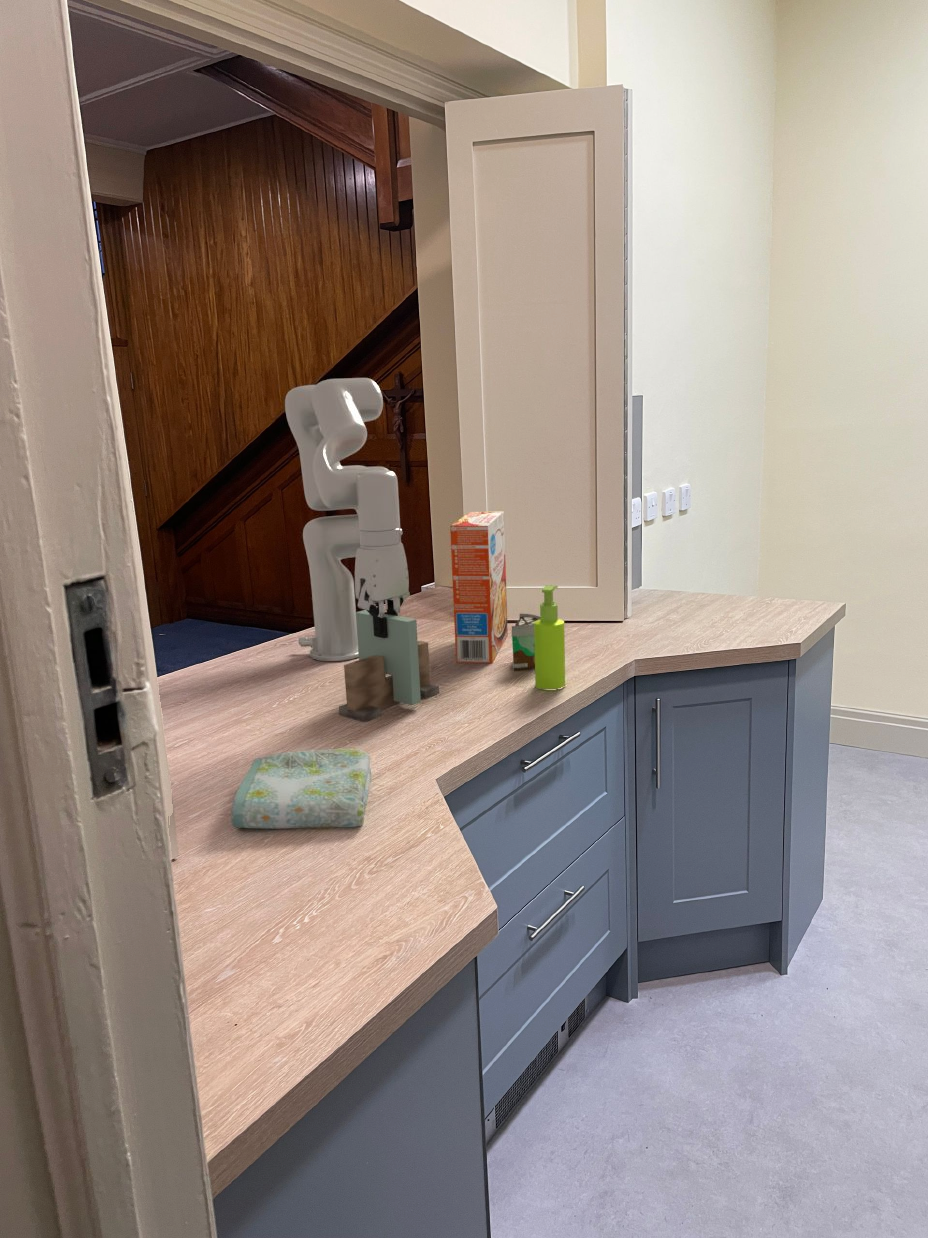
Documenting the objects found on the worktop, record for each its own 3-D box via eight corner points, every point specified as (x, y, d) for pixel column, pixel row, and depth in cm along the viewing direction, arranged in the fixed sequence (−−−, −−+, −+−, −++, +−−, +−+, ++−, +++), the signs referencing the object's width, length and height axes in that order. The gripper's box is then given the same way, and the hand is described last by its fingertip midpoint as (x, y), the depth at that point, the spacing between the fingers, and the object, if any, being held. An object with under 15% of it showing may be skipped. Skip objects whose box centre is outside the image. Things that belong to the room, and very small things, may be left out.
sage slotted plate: (412, 705, 175) (407, 621, 171) (361, 692, 184) (355, 612, 180) (420, 702, 176) (416, 619, 173) (369, 689, 185) (364, 610, 182)
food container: (542, 673, 195) (541, 627, 193) (512, 673, 196) (511, 626, 194) (548, 657, 207) (547, 613, 205) (521, 656, 208) (519, 612, 206)
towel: (373, 772, 149) (371, 741, 148) (364, 833, 129) (361, 798, 127) (258, 777, 149) (255, 747, 148) (230, 840, 128) (226, 805, 127)
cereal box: (492, 663, 204) (487, 525, 197) (456, 662, 206) (450, 526, 199) (507, 636, 226) (503, 511, 219) (474, 635, 228) (469, 511, 221)
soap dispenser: (569, 680, 190) (567, 583, 185) (561, 691, 183) (559, 591, 179) (541, 679, 192) (538, 582, 187) (532, 689, 185) (529, 590, 181)
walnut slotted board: (364, 721, 171) (361, 669, 169) (339, 714, 176) (335, 662, 173) (439, 693, 185) (437, 644, 183) (413, 686, 190) (411, 639, 188)
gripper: (396, 531, 181) (402, 624, 185) (333, 543, 170) (341, 642, 174) (425, 533, 176) (430, 629, 181) (362, 546, 165) (369, 647, 169)
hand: (386, 634), depth 177 cm, fingers closed on sage slotted plate, 2 cm apart
